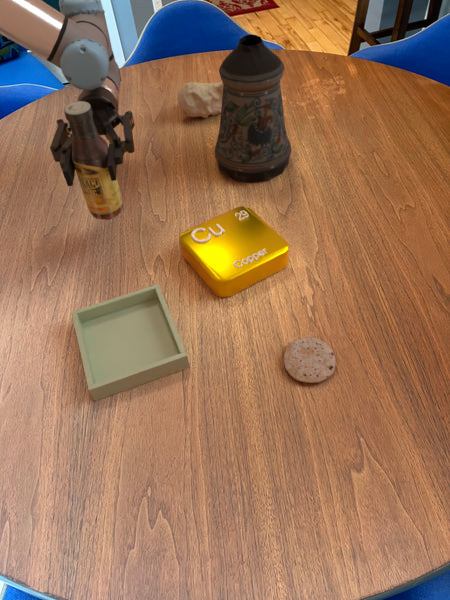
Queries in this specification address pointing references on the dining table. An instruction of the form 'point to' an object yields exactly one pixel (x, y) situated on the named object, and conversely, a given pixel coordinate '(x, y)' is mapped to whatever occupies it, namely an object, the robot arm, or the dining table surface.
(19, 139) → the dining table surface
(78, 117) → the sauce bottle
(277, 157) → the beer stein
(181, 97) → the beige rock
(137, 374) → the serving tray
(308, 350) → the flatbread
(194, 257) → the element tile
